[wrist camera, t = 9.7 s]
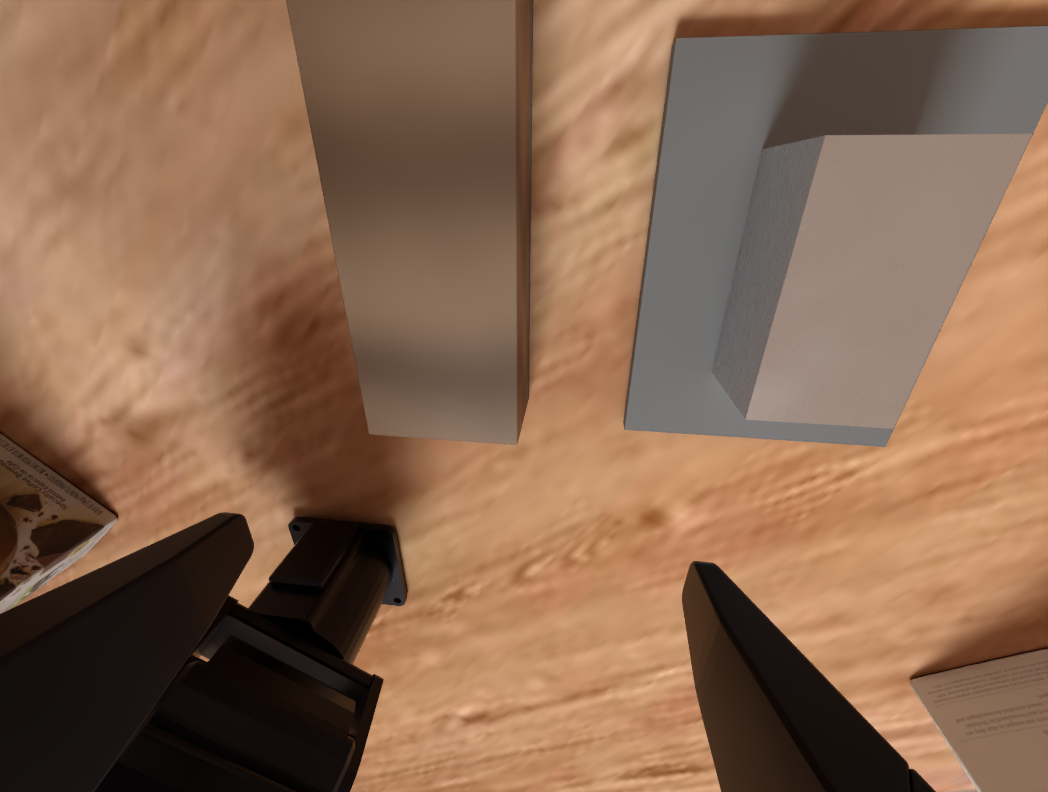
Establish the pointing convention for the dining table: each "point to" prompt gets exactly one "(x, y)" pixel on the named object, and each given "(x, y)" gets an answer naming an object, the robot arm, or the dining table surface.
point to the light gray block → (854, 270)
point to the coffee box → (41, 524)
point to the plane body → (427, 203)
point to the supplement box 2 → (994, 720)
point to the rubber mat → (731, 165)
